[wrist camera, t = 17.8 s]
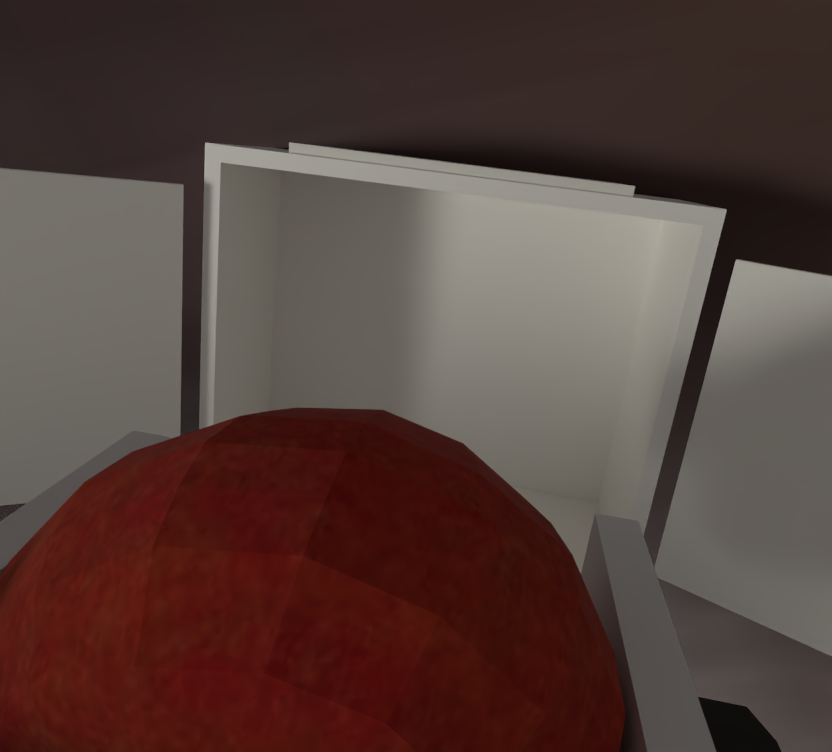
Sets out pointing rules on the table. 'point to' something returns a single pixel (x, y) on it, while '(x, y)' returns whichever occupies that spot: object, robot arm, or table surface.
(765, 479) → the flap
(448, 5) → the table surface
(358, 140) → the table surface
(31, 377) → the flap
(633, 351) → the carton
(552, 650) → the apple
